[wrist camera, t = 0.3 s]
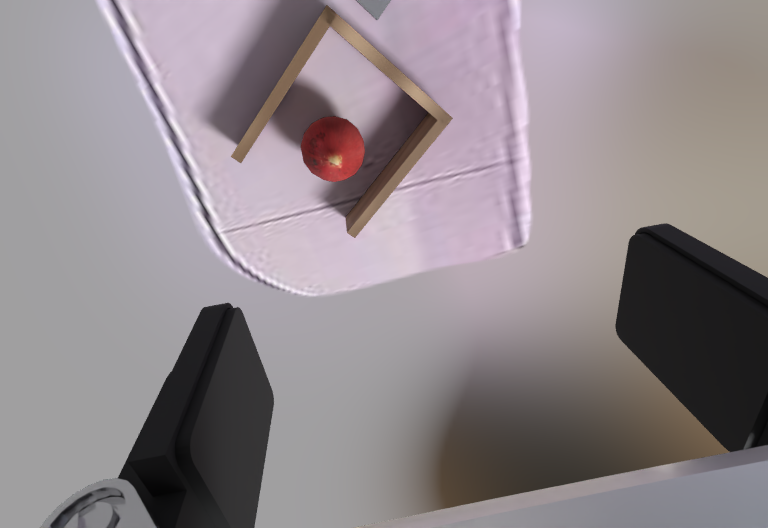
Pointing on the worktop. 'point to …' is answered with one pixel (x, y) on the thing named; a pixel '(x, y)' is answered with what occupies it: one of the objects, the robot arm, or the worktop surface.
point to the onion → (333, 148)
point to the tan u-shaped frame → (435, 116)
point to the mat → (374, 6)
